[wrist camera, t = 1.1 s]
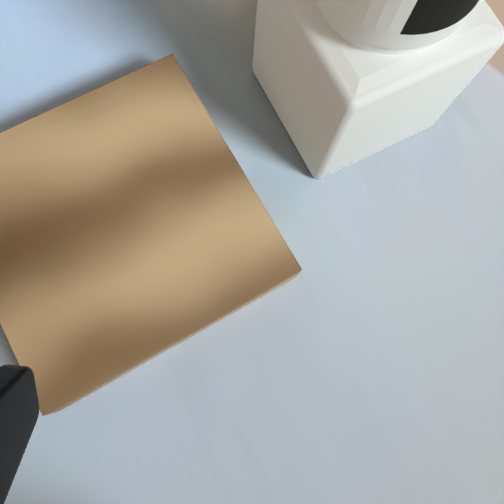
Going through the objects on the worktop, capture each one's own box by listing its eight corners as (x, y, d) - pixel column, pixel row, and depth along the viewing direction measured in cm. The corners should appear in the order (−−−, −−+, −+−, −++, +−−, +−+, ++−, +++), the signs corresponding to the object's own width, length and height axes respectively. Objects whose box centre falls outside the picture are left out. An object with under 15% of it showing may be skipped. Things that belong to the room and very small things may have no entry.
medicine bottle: (365, 20, 26) (479, -266, 14) (433, 127, 24) (622, -88, 13) (249, 69, 25) (267, -194, 13) (314, 183, 23) (400, 7, 12)
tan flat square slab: (295, 277, 22) (301, 269, 20) (60, 410, 20) (42, 415, 18) (177, 78, 24) (172, 53, 22) (-46, 182, 22) (-73, 166, 20)
